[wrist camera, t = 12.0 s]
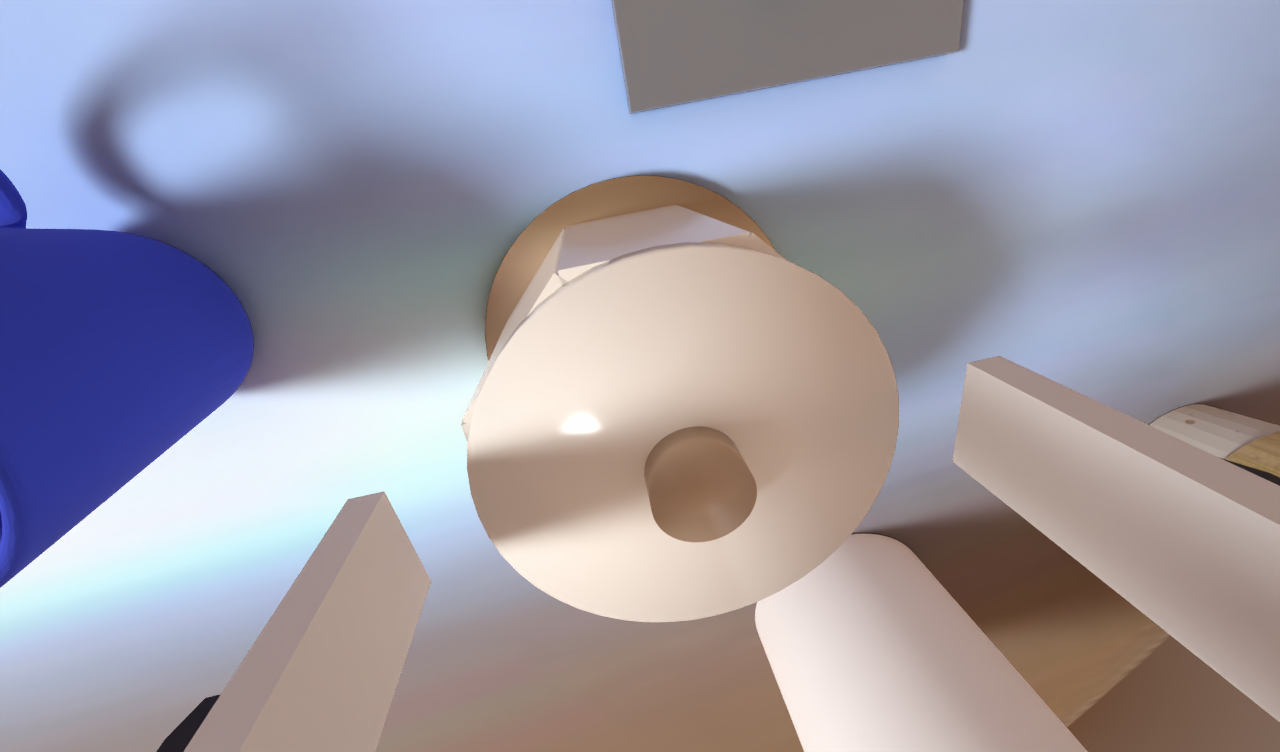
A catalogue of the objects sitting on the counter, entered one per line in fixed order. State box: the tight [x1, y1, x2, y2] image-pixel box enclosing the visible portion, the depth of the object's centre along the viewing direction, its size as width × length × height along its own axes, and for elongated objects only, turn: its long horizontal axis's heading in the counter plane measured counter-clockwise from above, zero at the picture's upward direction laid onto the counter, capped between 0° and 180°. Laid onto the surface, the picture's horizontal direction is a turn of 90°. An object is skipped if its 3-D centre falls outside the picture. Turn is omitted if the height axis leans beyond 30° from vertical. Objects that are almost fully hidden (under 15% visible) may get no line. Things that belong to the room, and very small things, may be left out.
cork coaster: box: [485, 176, 775, 360], centre depth 20 cm, size 13×13×1 cm
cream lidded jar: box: [461, 205, 899, 622], centre depth 15 cm, size 11×11×10 cm
